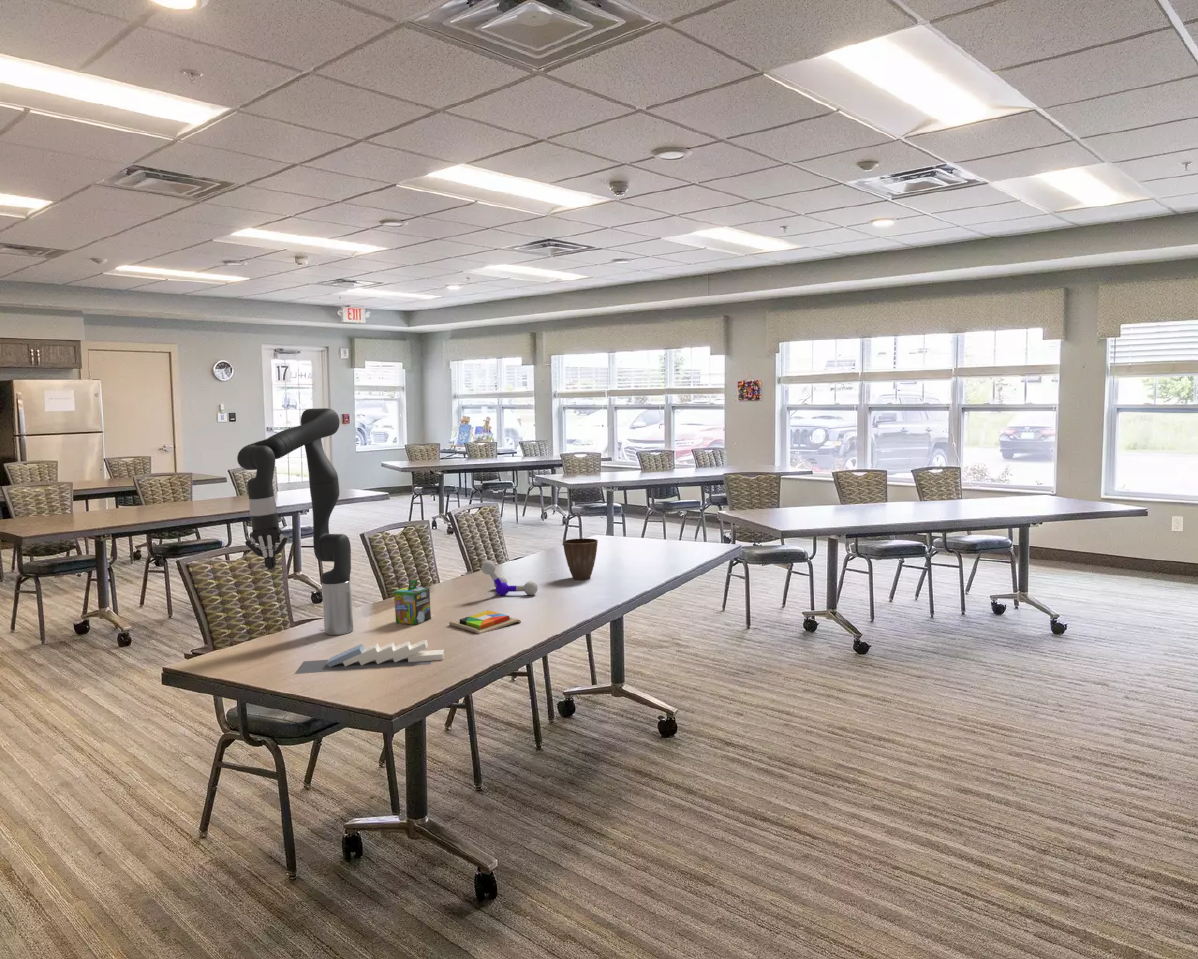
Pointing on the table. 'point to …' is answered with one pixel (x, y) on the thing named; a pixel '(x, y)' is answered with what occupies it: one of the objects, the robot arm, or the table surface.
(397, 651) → the tile
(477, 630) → the wooden puzzle
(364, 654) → the tile
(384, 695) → the table surface
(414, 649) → the tile
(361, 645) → the tile
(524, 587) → the molecular model
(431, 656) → the tile
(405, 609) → the chalk box
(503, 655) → the table surface
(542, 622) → the table surface
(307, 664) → the runner
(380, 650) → the tile
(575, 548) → the plant pot
